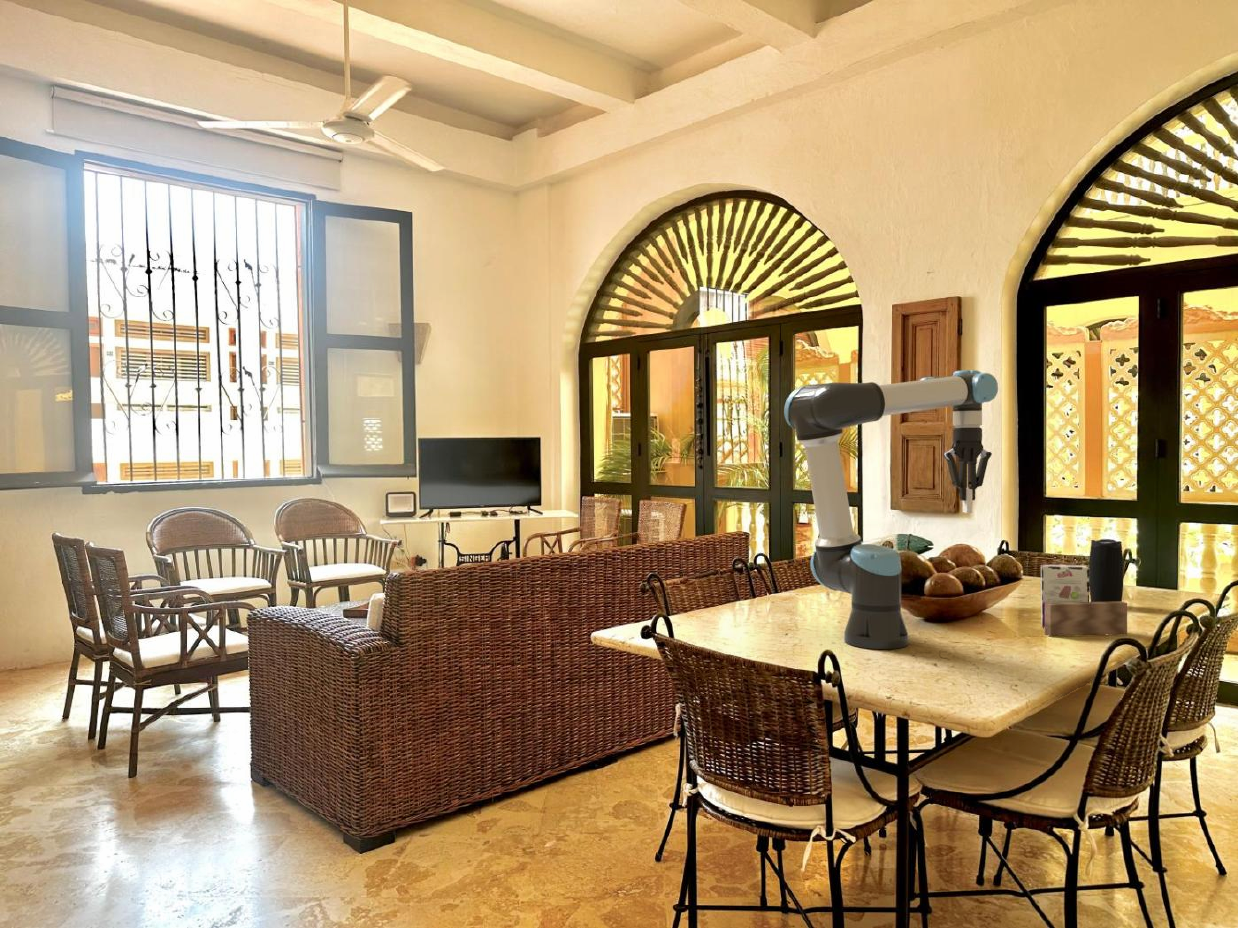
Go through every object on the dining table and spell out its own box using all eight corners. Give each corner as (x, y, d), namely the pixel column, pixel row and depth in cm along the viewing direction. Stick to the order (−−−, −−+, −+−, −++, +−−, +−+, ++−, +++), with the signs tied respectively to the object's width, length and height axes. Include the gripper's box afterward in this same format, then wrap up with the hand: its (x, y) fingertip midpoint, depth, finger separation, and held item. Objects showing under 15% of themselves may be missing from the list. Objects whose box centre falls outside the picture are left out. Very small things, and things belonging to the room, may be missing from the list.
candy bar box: (1087, 627, 227) (1087, 564, 227) (1090, 631, 222) (1090, 567, 222) (1040, 624, 231) (1040, 563, 231) (1041, 628, 227) (1041, 565, 226)
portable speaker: (1087, 607, 253) (1087, 541, 252) (1092, 602, 260) (1092, 537, 260) (1120, 610, 247) (1120, 542, 247) (1125, 605, 255) (1125, 539, 255)
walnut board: (1050, 636, 217) (1050, 604, 217) (1044, 634, 219) (1044, 603, 219) (1127, 634, 218) (1127, 603, 218) (1120, 632, 221) (1120, 601, 220)
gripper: (983, 426, 243) (983, 510, 243) (938, 427, 242) (938, 511, 242) (997, 426, 235) (997, 513, 236) (950, 427, 234) (950, 513, 235)
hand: (967, 512), depth 239 cm, fingers closed
